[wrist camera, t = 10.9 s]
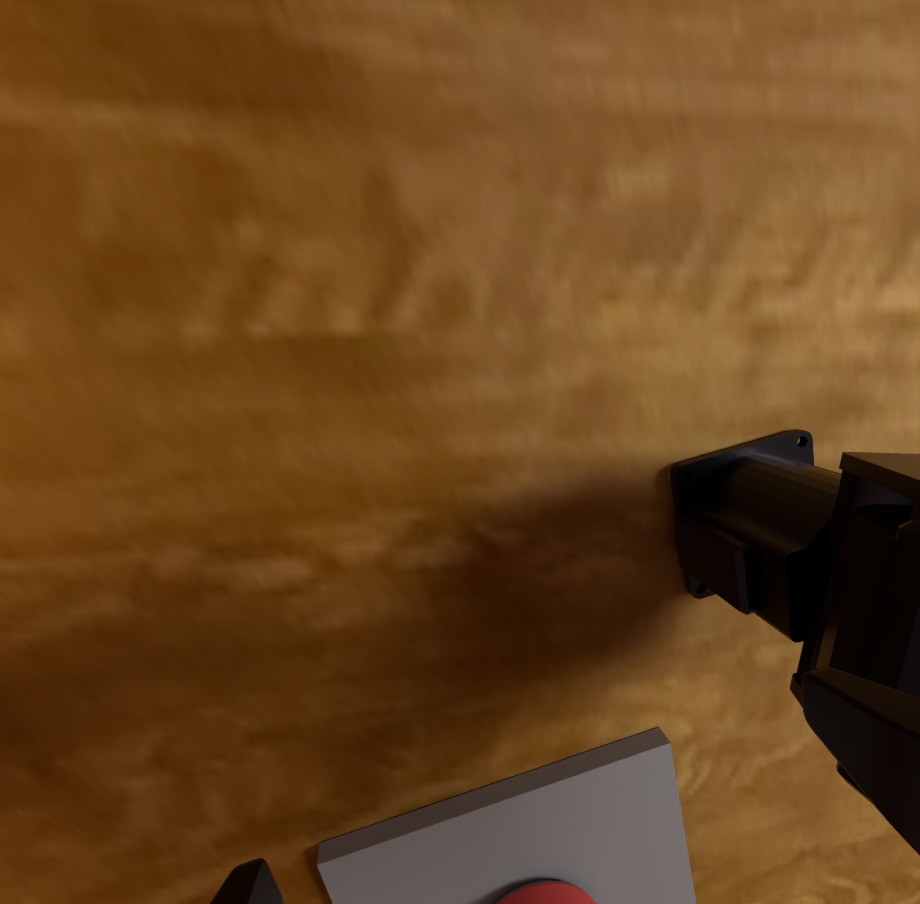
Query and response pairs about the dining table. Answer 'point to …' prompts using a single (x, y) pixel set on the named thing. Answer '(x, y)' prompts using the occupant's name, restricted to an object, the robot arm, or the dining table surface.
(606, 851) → the slate board
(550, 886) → the beer can
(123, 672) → the dining table surface
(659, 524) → the dining table surface
